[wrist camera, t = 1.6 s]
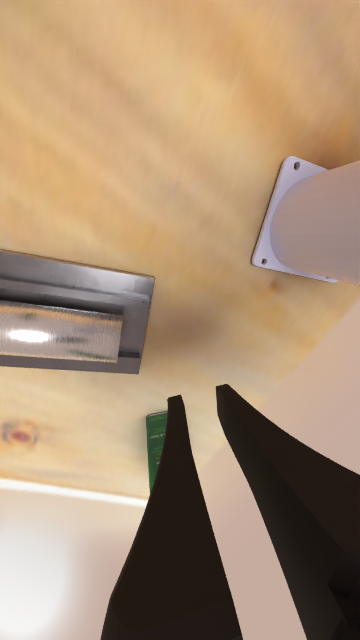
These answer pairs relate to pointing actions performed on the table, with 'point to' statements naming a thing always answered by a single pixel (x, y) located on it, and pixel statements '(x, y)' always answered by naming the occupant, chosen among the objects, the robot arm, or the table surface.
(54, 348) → the tube
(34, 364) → the rail
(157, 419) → the coffee box
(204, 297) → the table surface
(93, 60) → the table surface
